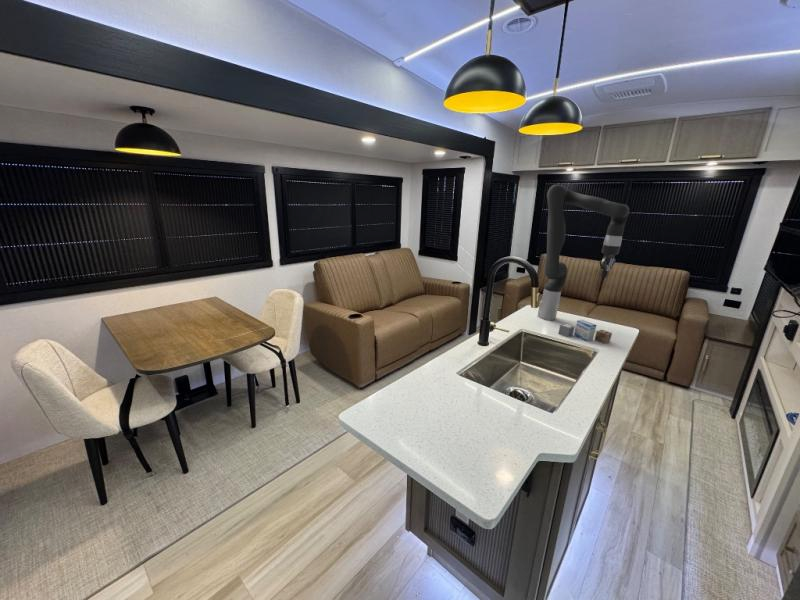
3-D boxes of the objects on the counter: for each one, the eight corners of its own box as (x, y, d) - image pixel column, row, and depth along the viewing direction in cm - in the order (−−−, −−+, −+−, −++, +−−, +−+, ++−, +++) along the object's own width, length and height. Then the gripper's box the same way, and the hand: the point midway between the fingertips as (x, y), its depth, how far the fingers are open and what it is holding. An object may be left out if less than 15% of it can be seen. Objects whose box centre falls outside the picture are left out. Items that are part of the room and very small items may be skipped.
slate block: (558, 333, 168) (560, 324, 166) (563, 332, 170) (565, 323, 169) (567, 337, 164) (569, 328, 162) (572, 335, 166) (574, 326, 165)
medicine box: (573, 335, 166) (576, 320, 163) (578, 334, 168) (582, 319, 165) (587, 341, 159) (591, 325, 157) (593, 340, 161) (596, 324, 158)
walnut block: (594, 340, 161) (596, 330, 160) (599, 338, 164) (601, 329, 163) (604, 344, 158) (607, 334, 156) (609, 342, 160) (612, 332, 159)
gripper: (610, 243, 170) (602, 274, 175) (597, 244, 163) (590, 277, 168) (625, 245, 164) (617, 277, 169) (613, 246, 157) (605, 280, 162)
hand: (603, 277), depth 169 cm, fingers closed
